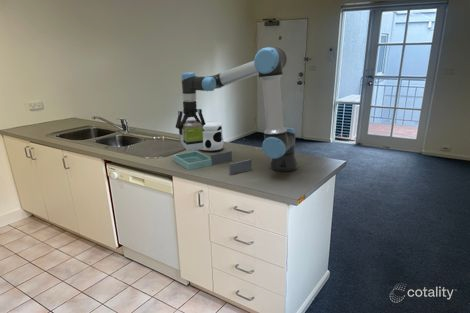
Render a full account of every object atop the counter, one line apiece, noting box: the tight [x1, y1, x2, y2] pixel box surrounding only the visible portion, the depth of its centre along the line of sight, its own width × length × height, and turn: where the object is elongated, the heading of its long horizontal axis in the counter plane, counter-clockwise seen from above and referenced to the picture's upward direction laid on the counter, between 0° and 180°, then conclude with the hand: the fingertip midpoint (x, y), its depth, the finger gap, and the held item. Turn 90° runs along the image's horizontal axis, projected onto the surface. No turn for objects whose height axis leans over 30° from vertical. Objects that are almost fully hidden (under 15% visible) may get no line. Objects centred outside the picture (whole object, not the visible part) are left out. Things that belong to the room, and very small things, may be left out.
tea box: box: [179, 119, 203, 152], centre depth 188 cm, size 15×10×15 cm, turn 23°
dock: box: [210, 150, 253, 176], centre depth 184 cm, size 21×14×6 cm, turn 34°
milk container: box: [200, 121, 225, 153], centre depth 217 cm, size 17×17×18 cm
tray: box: [172, 150, 213, 171], centre depth 192 cm, size 21×16×4 cm
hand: (191, 138), depth 189 cm, fingers closed on tea box, 11 cm apart
